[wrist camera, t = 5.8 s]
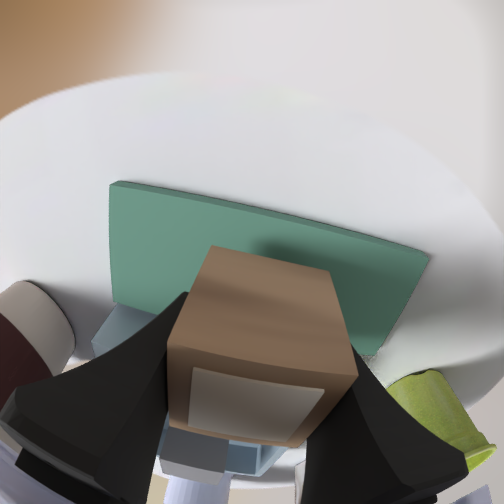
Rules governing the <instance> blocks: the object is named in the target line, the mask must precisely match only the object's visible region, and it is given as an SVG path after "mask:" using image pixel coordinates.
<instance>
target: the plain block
mask: <svg viewBox="0 0 504 504" xmlns="http://www.w3.org/2000/svg"><path fill="white" fill-rule="evenodd" d="M228 445H229V440H228V439H223V438H217V437H213V436H208V435H203V434H199V433H194V432H190V431H186V430H182V429H179V428H175V427H171V426H169V427H168V430H167V433H166V437H165V440H164V443H163V447H162V450H161V453H160V457H159V460H160V464H161V468H162V472H163V473H164V474H168V475H172V476H175V477H179V478H183V479H188V480H192V481H196V482H201V483H206V484H211V485H218V484H219V482H220V480H221V478H222V477H223V475H224V472H225V466H226V459H227V452H228Z"/></svg>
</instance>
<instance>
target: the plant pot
mask: <svg viewBox="0 0 504 504" xmlns="http://www.w3.org/2000/svg"><path fill="white" fill-rule="evenodd" d="M386 390H387V392H388V393H389V394H390V395H391V396H392V397H393V398H394V399H395V400H396V401H397V402H398V403H399V404H400V405H401V406H402V407H403V408H404V409H405V410H406V411H407V412H408V413H409V414H410V415H411V416H412V417H413V418H415V419H416V420H417V421H418V422H419V423H420V424H422V425H423V426H424V427H425V428H427V429H428V430H429V431H431V432H432V433H433V434H435V435H436V436H438V437H439V438H440V439H442V440H443V441H445V442H447V443H448V444H450V445H452V446H454V447H455V448H457V449H459V450H460V451H462V452H463V453H464V455H465V459H466V462H467V466H468V470H469V472H471V471H472V470H473V469H475V468H476V467H478V466H479V465H481V464H482V463H483V462H485V461H486V460H487V459H488V458H489V457H490V456H491V455H492V454H493V453H494V452H495V451H496V449H497V447H496V445H495V444H489V443H488V441H487V440H486V438H485V436H484V435H483V434H482V433H481V432H479V431H478V430H477V428H476V427H475V425H474V424H473V422H472V420H471V419H470V417H469V416H468V414H467V412H466V411H465V409H464V407H463V406H462V404H461V403H460V401H459V400H458V398H457V397H456V395H455V394H454V392H453V390H452V389H451V387H450V386H449V384H448V383H447V381H446V380H445V378H444V377H443V375H442V374H441V373H440V372H438V371H434V370H428V371H426V372H425V373H423V374H420V375H409V376H406V377H404V378H402V379H400V380H399V381H397V382H395V383H394V384H392V385H391V386H389V387H388V388H387V389H386Z"/></svg>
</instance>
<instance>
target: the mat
mask: <svg viewBox="0 0 504 504" xmlns="http://www.w3.org/2000/svg"><path fill="white" fill-rule="evenodd" d="M211 245H214V246H219V247H223V248H228V249H232V250H236V251H241V252H245V253H250V254H254V255H259V256H263V257H268V258H272V259H277V260H281V261H286V262H290V263H294V264H299V265H303V266H308V267H312V268H317V269H321V270H326V271H329V272H330V276H331V279H332V282H333V285H334V288H335V291H336V295H337V298H338V301H339V305H340V308H341V311H342V315H343V318H344V322H345V325H346V329H347V333H348V336H349V340H350V343H351V344H352V345H353V347H354V348H355V350H356V351H357V353H358V354H362V355H372V356H374V355H375V354H376V352H377V351H378V349H379V348H380V346H381V345H382V343H383V342H384V340H385V339H386V337H387V335H388V334H389V332H390V331H391V329H392V327H393V326H394V324H395V322H396V321H397V319H398V317H399V316H400V314H401V312H402V311H403V309H404V307H405V305H406V303H407V302H408V300H409V298H410V296H411V294H412V292H413V291H414V289H415V287H416V285H417V283H418V281H419V279H420V277H421V275H422V273H423V271H424V269H425V267H426V265H427V263H428V261H429V258H428V257H427V256H426V255H425V254H424V253H423V252H422V251H419V250H416V249H413V248H409V247H406V246H403V245H399V244H396V243H392V242H389V241H386V240H382V239H379V238H375V237H372V236H368V235H364V234H361V233H357V232H353V231H350V230H346V229H342V228H339V227H335V226H331V225H327V224H323V223H319V222H315V221H311V220H307V219H303V218H299V217H295V216H291V215H287V214H283V213H278V212H274V211H270V210H266V209H261V208H257V207H252V206H248V205H243V204H239V203H234V202H230V201H225V200H220V199H215V198H210V197H205V196H200V195H195V194H190V193H185V192H180V191H175V190H169V189H164V188H158V187H153V186H147V185H141V184H136V183H130V182H123V181H117V182H115V183H112V184H110V188H109V249H110V268H111V282H112V293H113V301H114V302H117V303H120V304H123V305H126V306H129V307H133V308H136V309H139V310H142V311H146V312H149V313H153V314H156V315H158V314H160V313H161V312H162V311H163V310H164V309H165V308H166V307H167V306H168V305H170V304H171V303H172V302H173V301H174V300H175V299H176V298H177V297H178V296H179V295H180V294H181V293H182V292H184V291H186V292H190V289H191V287H192V285H193V283H194V281H195V279H196V276H197V274H198V272H199V270H200V268H201V266H202V264H203V262H204V259H205V257H206V255H207V253H208V251H209V249H210V247H211Z"/></svg>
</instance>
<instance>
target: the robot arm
mask: <svg viewBox="0 0 504 504" xmlns="http://www.w3.org/2000/svg"><path fill="white" fill-rule="evenodd" d="M188 294H189V292H186V291H184V292H182V293H181V294H180V295H179V296H178V297H177V298H176V299H175V300H174V301H173V302H172V303H171V304H170V305H168V306H167V307H166V308H165V309H164V310H163V311H162V312H161V313H160V314H158V315H157V316H156V317H155V318H154V319H152V320H151V321H150V322H149V323H148V324H146V325H145V326H144V327H143V328H141V329H140V330H139V331H137V332H136V333H135V334H133V335H132V336H131V337H129V338H128V339H126V340H125V341H123V342H122V343H120V344H119V345H117V346H116V347H114V348H112V349H111V350H109V351H107V352H106V353H104V354H102V355H100V356H98V357H97V358H95V359H93V360H91V361H89V362H87V363H85V364H83V365H81V366H79V367H76V368H74V369H71V370H69V371H67V372H64V373H61V374H59V375H56V376H54V377H51V378H48V379H45V380H41V381H37V382H34V383H30V384H26V385H22V386H17V387H16V389H15V390H14V391H13V393H12V394H11V395H10V397H9V399H8V400H7V402H6V404H5V405H4V407H3V408H2V410H1V412H0V426H1V427H2V428H3V429H4V430H5V431H6V432H7V433H8V434H9V435H10V436H11V437H12V438H13V439H14V440H15V441H16V442H17V443H18V444H19V445H20V446H21V447H23V448H22V450H21V452H20V454H18V453H16V452H15V451H14V450H13V449H11V448H10V447H9V446H7V445H6V444H5V443H4V442H2V441H1V440H0V504H146V502H147V496H148V491H149V486H150V481H151V476H152V472H153V467H154V463H155V459H156V454H157V450H158V446H159V442H160V438H161V435H162V431H163V427H164V424H165V420H166V416H167V413H168V411H169V410H168V382H167V341H168V339H169V336H170V334H171V332H172V329H173V327H174V325H175V323H176V320H177V318H178V316H179V314H180V311H181V309H182V307H183V305H184V303H185V300H186V298H187V296H188ZM350 344H351V343H350ZM351 347H352V351H353V355H354V359H355V363H356V367H357V371H358V375H359V376H358V377H357V379H356V380H355V381H354V383H353V384H352V385H351V387H350V388H349V389H348V390H347V392H346V393H345V394H344V396H343V397H342V398H341V399H340V401H339V402H338V403H337V404H336V406H335V407H334V408H333V409H332V410H331V412H330V413H329V414H328V415H327V416H326V417H325V419H324V420H323V421H322V422H321V423H320V424H319V425H318V427H317V428H316V429H315V430H314V431H313V432H312V433H311V434H310V435H309V436H308V438H307V449H306V464H305V474H304V483H303V489H302V496H301V502H300V504H434V503H436V502H437V495H436V494H438V493H440V492H442V491H443V490H445V489H447V488H449V487H451V486H453V485H454V484H456V483H458V482H459V481H461V480H462V479H464V478H465V477H466V476H467V475H468V474H469V470H468V466H467V462H466V459H465V455H464V453H463V452H462V451H460V450H459V449H457V448H455V447H454V446H452V445H450V444H448V443H447V442H445V441H443V440H442V439H440V438H439V437H438V436H436V435H435V434H433V433H432V432H431V431H429V430H428V429H427V428H425V427H424V426H423V425H422V424H420V423H419V422H418V421H417V420H416V419H415V418H413V417H412V416H411V415H410V414H409V413H408V412H407V411H406V410H405V409H404V408H403V407H402V406H401V405H400V404H399V403H398V402H397V401H396V400H395V399H394V398H393V397H392V396H391V395H390V394H389V393H388V392H387V390H386V389H385V388H384V387H383V386H382V385H381V383H380V382H379V381H378V380H377V378H376V377H375V376H374V375H373V373H372V372H371V371H370V369H369V368H368V367H367V365H366V364H365V363H364V361H363V360H362V358H361V357H360V356H359V354H358V353H357V351H356V350H355V348H354V347H353V345H352V344H351ZM233 475H234V474H232V473H226V472H224V475H223V477H222V478H221V480H220V482H219V484H218V485H211V484H206V483H201V482H196V481H192V480H188V479H183V478H179V477H175V476H172V475H170V478H169V482H168V486H167V490H166V494H165V498H164V502H163V504H228V498H229V491H230V484H231V478H232V477H233ZM451 504H492V500H491V496H490V492H489V487H488V485H485V486H483V487H481V488H479V489H477V490H476V491H474V492H471V493H470V494H468V495H466V496H464V497H462V498H460V499H458V500H456V501H455V502H453V503H451Z"/></svg>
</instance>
